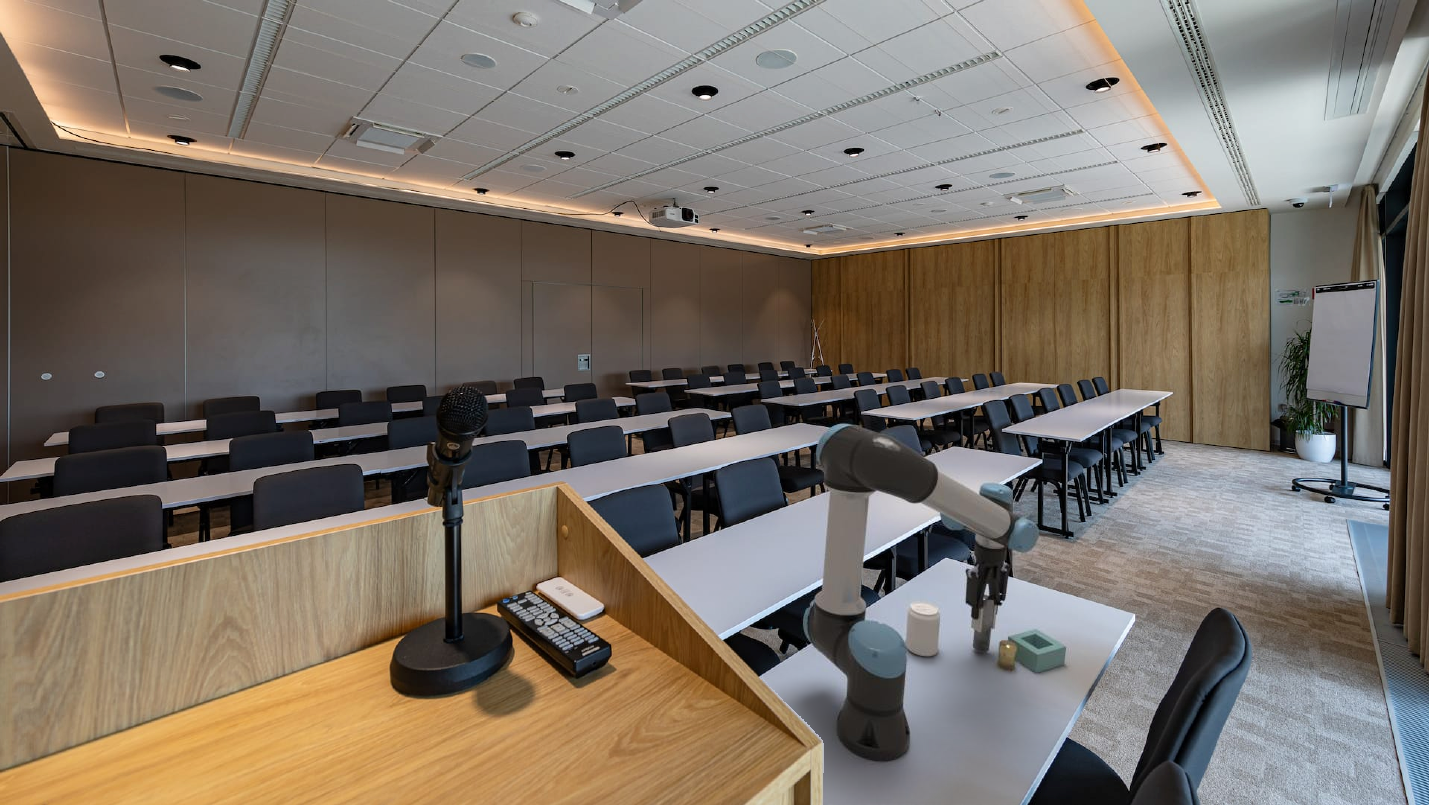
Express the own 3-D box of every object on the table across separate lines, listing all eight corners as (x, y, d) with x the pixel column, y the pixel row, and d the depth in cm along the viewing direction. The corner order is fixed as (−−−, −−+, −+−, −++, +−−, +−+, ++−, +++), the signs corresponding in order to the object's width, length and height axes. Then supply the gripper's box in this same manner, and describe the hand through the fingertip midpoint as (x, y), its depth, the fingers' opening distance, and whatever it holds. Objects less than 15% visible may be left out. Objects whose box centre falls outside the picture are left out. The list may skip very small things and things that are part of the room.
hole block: (1035, 673, 152) (1037, 654, 151) (1006, 653, 160) (1008, 636, 159) (1064, 664, 156) (1066, 646, 155) (1034, 646, 164) (1035, 628, 163)
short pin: (1006, 672, 152) (1008, 650, 151) (993, 663, 156) (995, 642, 155) (1018, 668, 154) (1020, 647, 153) (1005, 660, 157) (1007, 638, 156)
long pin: (981, 653, 158) (985, 603, 156) (969, 645, 161) (974, 596, 159) (992, 650, 159) (997, 600, 157) (980, 642, 163) (985, 593, 161)
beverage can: (939, 660, 157) (943, 617, 155) (907, 656, 159) (910, 613, 157) (935, 643, 165) (938, 601, 163) (904, 639, 167) (906, 598, 165)
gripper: (976, 553, 149) (968, 641, 153) (1027, 544, 155) (1018, 629, 159) (954, 542, 156) (947, 626, 160) (1003, 534, 162) (995, 615, 166)
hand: (982, 627), depth 159 cm, fingers closed on long pin, 4 cm apart
